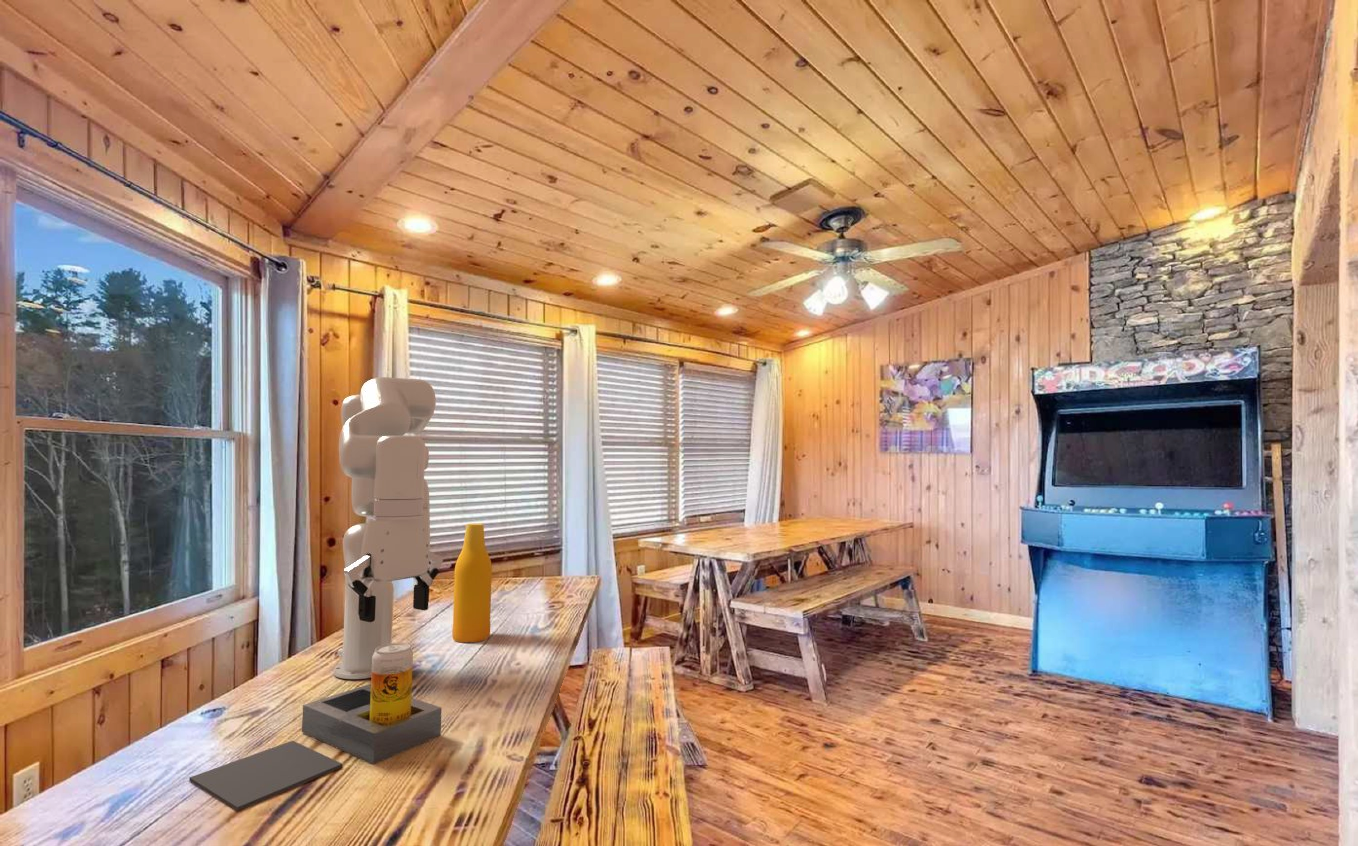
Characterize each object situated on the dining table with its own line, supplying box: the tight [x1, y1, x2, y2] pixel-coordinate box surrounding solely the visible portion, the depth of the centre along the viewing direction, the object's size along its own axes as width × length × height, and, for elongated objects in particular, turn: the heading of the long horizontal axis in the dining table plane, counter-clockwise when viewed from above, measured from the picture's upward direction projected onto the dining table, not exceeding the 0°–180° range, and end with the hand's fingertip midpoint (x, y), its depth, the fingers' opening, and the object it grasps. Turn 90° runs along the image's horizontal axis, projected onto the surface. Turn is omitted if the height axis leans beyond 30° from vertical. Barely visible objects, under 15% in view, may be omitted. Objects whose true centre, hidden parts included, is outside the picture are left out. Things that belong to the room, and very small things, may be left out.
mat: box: [188, 740, 344, 812], centre depth 91 cm, size 14×14×1 cm
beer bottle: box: [451, 522, 493, 643], centre depth 162 cm, size 9×9×29 cm
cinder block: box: [301, 683, 443, 765], centre depth 105 cm, size 20×12×4 cm, turn 58°
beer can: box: [370, 642, 414, 726], centre depth 103 cm, size 6×6×15 cm
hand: (394, 614), depth 103 cm, fingers open, 9 cm apart
